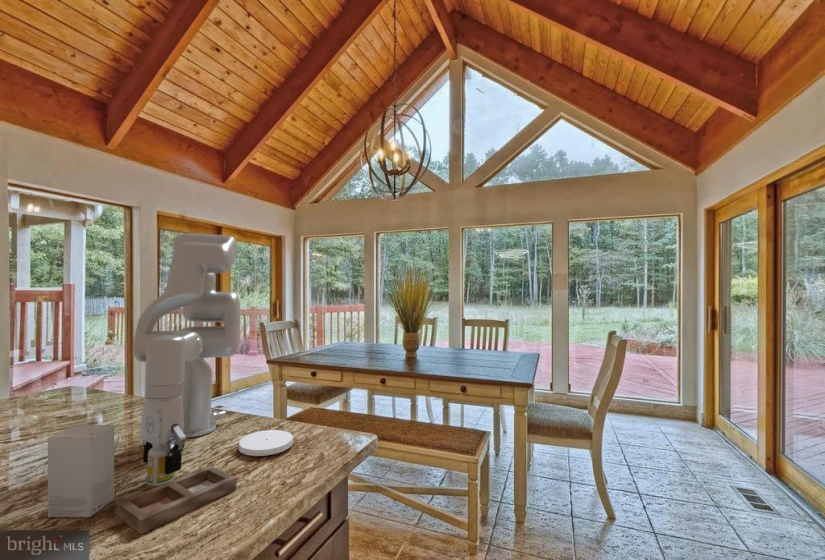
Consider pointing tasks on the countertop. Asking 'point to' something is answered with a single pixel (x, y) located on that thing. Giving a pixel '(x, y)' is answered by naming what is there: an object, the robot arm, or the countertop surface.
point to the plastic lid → (265, 442)
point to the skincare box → (80, 470)
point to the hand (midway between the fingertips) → (161, 466)
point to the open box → (174, 498)
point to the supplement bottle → (158, 466)
